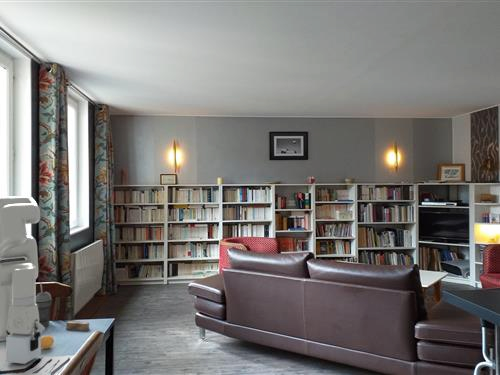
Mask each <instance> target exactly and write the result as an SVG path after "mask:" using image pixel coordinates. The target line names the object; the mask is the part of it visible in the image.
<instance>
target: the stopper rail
mask: <svg viewBox="0 0 500 375" xmlns="http://www.w3.org/2000/svg"><path fill="white" fill-rule="evenodd" d="M68 329H69V331H70V330H71V331H72V330H73V331H82V330H84V331H86V330H87V331H89V330H90V322H87V321H85V322H84V321H73V320H72V321H71V320H69V321H67V322H66V330H68ZM88 329H89V330H88Z"/></svg>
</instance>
